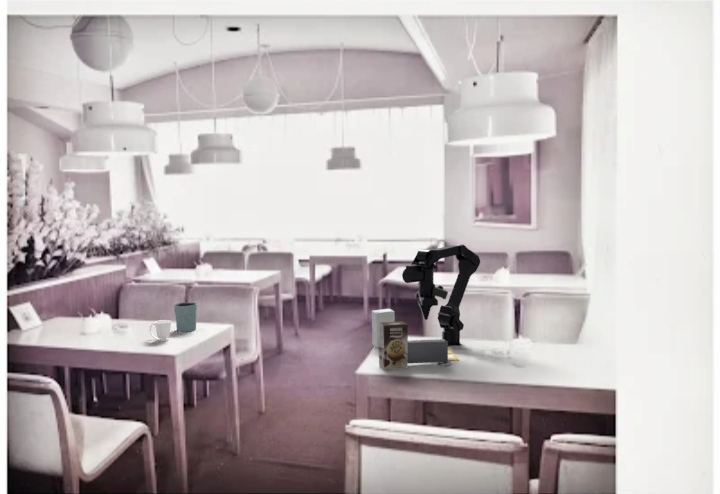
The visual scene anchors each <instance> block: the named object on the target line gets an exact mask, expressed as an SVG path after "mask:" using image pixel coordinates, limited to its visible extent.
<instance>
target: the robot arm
mask: <svg viewBox="0 0 720 494" xmlns="http://www.w3.org/2000/svg"><path fill="white" fill-rule="evenodd" d="M449 257H455V258H456V260H457V261H458V263H457V267H458V268H457V269H458V275H457V277H456V279H455V283H454V285H453V287H452V290H451V293H450V296H449V298H448V301H447V303H446V304H445V305H440V307H439V308H440V309H439V311H438V313H437V321H438V324H439V326H440V328H441V329H443V331H442V332H441V339H444V340H446V341H447V342H448V346H458V345H459V346H460V345H461V344H462V343H461V342H460V341H461V338H460V337H461V331H462V330H464V326H465V325H464V323H463V322H462V321H461V319H460V317H461V312H460V306H461V303H462V300H463V297H464V295H465V292H466V289H467V287H468V285H469V281H470V278H471V276H472V275H474V273H476V272H477V270H478V268H479V267H480V264H481V259H480V256H479V255H478V254H476V253H475V252H473V250H471V249H469V248H468V246H466V245H465V244H461V243H460V244H459V243H454V244H451V245H448V246H444V247H438V248H433V249H432V248H420V249H418V251H417V254H416V255H415V257H414V258H413V261H412V262H411V264H410V265H409V264H407V265H405V268H404V270H403V271H402V274H401V275H402V280H403V282H405V283H406V284H410V283H411V284H412V283H417V284H418V290H417V291H416V292H415V293H414V298H415V299H416V300H417V299H418V298H419V300H417V303H418V306H419V309H420V312H421V313H422V316H423V318H424V320H426V321H427V320H429V315H430V311H431V308H432V307H433V306H435V307H436V306H439V300H438V299H437V298H436V297H439V298H441V299H443V300H447V297H448V294H449V291H447V290H446V289H444V286H443V285H438V286H436V284H435V283H434V276H435V275H434V270H437V269H438V265H436V263H438V262H439V261H440V260H442V259H445V258H449Z"/></svg>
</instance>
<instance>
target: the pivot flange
mask: <svg viewBox="0 0 720 494" xmlns="http://www.w3.org/2000/svg"><path fill="white" fill-rule="evenodd" d="M437 365H438V366H440V367H449V366H452V361H448V362H437Z"/></svg>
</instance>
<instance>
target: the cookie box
mask: <svg viewBox="0 0 720 494" xmlns="http://www.w3.org/2000/svg"><path fill="white" fill-rule="evenodd" d="M408 332H409V324H408V323H406V322H405V321H403V320H400V321H398V320H397V321H395V322H380V323H379V348H378V350H379V351H378V365H379V367H380V368H381V369H382V370H384V371H387V370H386V369H388V370H398V369H408V368H409V367H408V364H409V363H408V361H407V360H408V340H409V338H408V337H409V333H408Z"/></svg>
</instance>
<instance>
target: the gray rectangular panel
mask: <svg viewBox="0 0 720 494" xmlns="http://www.w3.org/2000/svg"><path fill="white" fill-rule="evenodd" d="M448 348H449V345H448V342H447V341H446V340H444V339H442V338H441V339H415V340H414V339H410V340H409V339H408V360H407V361H408V364H430V363H433V364H434V363H437V364H438V362H448Z"/></svg>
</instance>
